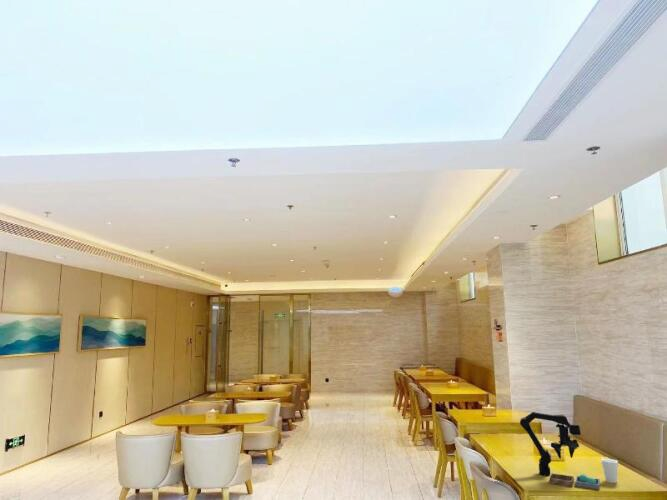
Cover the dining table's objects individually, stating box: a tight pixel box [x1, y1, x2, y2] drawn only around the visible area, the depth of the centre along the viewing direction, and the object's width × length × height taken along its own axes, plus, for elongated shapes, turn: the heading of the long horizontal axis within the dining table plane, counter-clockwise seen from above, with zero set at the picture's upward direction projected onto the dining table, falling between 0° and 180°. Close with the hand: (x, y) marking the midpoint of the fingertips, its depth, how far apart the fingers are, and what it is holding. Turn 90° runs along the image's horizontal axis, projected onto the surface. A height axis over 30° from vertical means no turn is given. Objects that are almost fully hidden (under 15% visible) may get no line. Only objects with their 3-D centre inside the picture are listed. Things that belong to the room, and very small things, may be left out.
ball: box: [578, 473, 589, 483], centre depth 303 cm, size 5×5×5 cm
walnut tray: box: [549, 473, 575, 488], centre depth 305 cm, size 13×13×3 cm
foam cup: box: [601, 458, 619, 484], centre depth 308 cm, size 10×9×13 cm
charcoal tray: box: [574, 475, 601, 491], centre depth 299 cm, size 13×13×3 cm
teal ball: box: [587, 477, 596, 484], centre depth 296 cm, size 5×5×5 cm
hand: (565, 458), depth 318 cm, fingers open, 9 cm apart
